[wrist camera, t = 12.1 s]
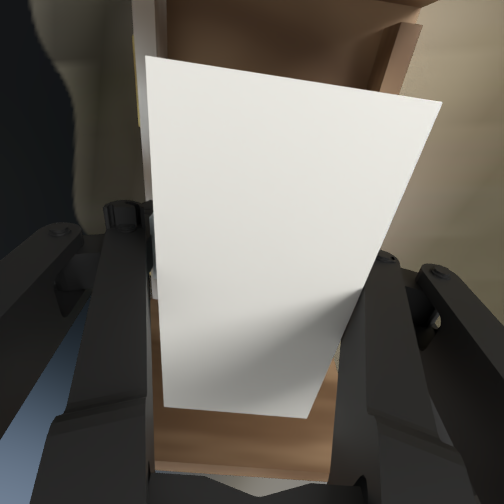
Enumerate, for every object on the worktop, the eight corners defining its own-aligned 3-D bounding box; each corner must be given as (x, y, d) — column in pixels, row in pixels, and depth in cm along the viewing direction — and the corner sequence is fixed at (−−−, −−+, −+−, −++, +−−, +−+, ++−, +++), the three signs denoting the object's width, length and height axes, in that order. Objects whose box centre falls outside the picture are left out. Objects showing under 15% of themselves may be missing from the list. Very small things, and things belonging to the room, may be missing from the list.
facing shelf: (313, 305, 26) (359, 483, 15) (160, 289, 25) (81, 465, 14) (414, -11, 15) (982, -331, 3) (142, -59, 14) (-395, -711, 2)
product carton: (285, 277, 21) (306, 418, 12) (198, 267, 20) (157, 406, 12) (330, 87, 14) (442, 102, 6) (207, 68, 14) (132, 53, 5)
